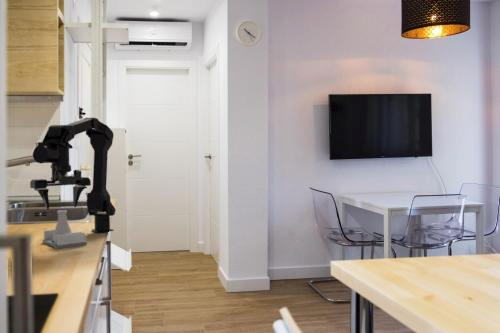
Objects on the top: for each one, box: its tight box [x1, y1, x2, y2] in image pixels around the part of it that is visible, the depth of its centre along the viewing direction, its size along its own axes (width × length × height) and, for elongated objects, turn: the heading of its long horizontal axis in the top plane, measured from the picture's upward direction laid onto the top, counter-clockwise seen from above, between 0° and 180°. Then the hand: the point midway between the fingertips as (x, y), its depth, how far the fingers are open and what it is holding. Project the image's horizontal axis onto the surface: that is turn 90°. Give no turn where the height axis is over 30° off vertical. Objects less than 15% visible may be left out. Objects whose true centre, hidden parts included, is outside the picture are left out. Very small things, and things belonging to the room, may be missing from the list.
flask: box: [52, 210, 73, 241], centre depth 181 cm, size 7×7×10 cm
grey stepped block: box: [42, 229, 88, 249], centre depth 180 cm, size 14×10×4 cm
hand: (61, 208), depth 180 cm, fingers open, 9 cm apart
